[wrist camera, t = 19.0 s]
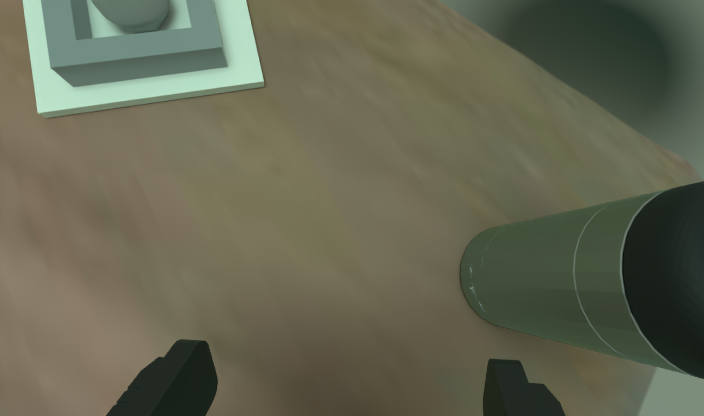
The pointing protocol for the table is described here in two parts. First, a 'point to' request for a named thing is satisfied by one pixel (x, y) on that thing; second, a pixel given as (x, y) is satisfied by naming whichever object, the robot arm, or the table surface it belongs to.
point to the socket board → (147, 89)
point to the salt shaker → (134, 13)
